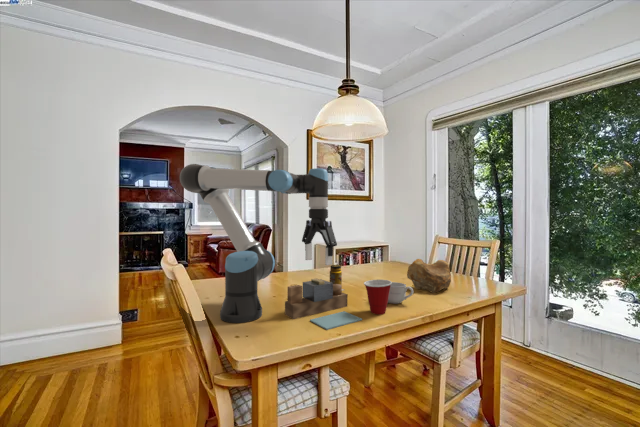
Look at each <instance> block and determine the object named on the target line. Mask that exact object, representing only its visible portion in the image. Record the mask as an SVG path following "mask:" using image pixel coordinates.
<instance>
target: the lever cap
mask: <svg viewBox="0 0 640 427" xmlns="http://www.w3.org/2000/svg"><path fill="white" fill-rule="evenodd" d="M302 298H306V299H308V300H310V301H313V302H317V301H322V300H327V299H332V298H333V283H331V282H330V281H327V280H324V279H322V278H321V279H318V278H316V277H315V278H311V279H310V280H307V281H302Z"/></svg>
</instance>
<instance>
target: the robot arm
mask: <svg viewBox="0 0 640 427" xmlns="http://www.w3.org/2000/svg"><path fill="white" fill-rule="evenodd" d="M179 183H180V185H181V187H183V189H185V191H187V192H190V193H194V194H199V196H200V197H201V199H202V200H203V202H204V203H205V204H206V203H207V204H209V205H210V207H211V209H212V211H213V212H214V214H215V215H216V217H217V219H218V221H219V222H220V223H219V224H221V227H223V229H224V232H225V233H226V235H227V236H228V238H229V240H230V241H231V243H232V245H233V247H234V249H235V250H236V251H235V252H231V253H229V254H228V255H227V256H226V257H225V263H224V269H225V270H224V272H225V273H224V275H225V276H224V277H225V279H224V281H225V282H224V284H225V285H224V286H225V290H224V291H225V293H224V294H225V295H224V299H223V302H222V306H221V309H220V314H219V316H220V318H219V319H220V320H222V321H224V322H226V323H233V324H235V323H236V324H237V323H239V324H240V323H248V322H252V321H255V320H257V319H260V318H261V317H262V316H263V308H262V304H261V301H260V299H259V295H258V282H260V281H261V280H264V279H266V278H268V276H270V275H271V274H272V273H273V271H274V269H275V264H276V261H275V257H274V255H273V254H272V253H271V251H269V250H267V249H265V248H264V246H263V244H262V243H261V242H260V241H258V240H256V239H255V238H254V236H253V234H252V233H251V230H250V229H249V227H248V226H247V224H246V222H245V221H244V219H243V217H242V216H241V214H240V212H239V211H238V209H237V207H236V205H235V204H234V203H233V200H232V199H231V197H230V196H229V195H230V194H229V191H230V190H244V191H260V192H261V191H263V192H264V191H265V192H278V193H279V192H280V193H281V194H285V195H286V194H287V195H291V194H296V195H297V194H308V208H309V209H308V218H309V219H306V223H305V227H304V230H303V235H302V237H301V238H302V239H301V242H302V243H304V250H305V260H304V261H311V260H312V259H313V244H312V241H313V239H314V237H315V236H316V234H317V233H319V234H320V235H321V237H322V239H323V241H324V243H325V248H324V249H325V251H324V252H325V253H324V254H325V260H324V261H325V262H324V263H325V266H329V265H330V266H331V265H333V256H334V247H337V246H338V243H337V240H336V239H337V238H336V236H335V232H334V229H333V226H332V225H333V224H332V220H327V219H328V217H329V209H328V206H329V203H328V202H329V174H328V170H327V169H325V168H310V169H309V171H308V173H307V174H295V173H291V172H289V171H287V170H285V169H275V170H269V169H268V170H267V169H241V168H239V169H238V168H237V169H236V168H216V167H212V166H209V165H203V164H202V165H201V164H199V163H198V164H197V163H191V164H187V165H186V166H184V167H183V168H182V169H181V171H180V173H179Z"/></svg>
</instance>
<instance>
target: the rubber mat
mask: <svg viewBox="0 0 640 427" xmlns="http://www.w3.org/2000/svg"><path fill="white" fill-rule="evenodd" d="M309 321H310V322H311V323H313V324H315V325H316V326H318V327H320V328H323V329H324V330H326V331H329V330H331V329H335V328H339V327H343V326H346V325H349V324H354V323H357V322H361V321H363V318H361V317H358V316H356V315H355V314H351V313H350V312H347V311H339V312H335V313H332V314H328V315H327V314H326V315H323V316H319V317H315V318H312V319H309Z"/></svg>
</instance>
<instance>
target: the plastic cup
mask: <svg viewBox="0 0 640 427" xmlns="http://www.w3.org/2000/svg"><path fill="white" fill-rule="evenodd" d="M392 282H393V281H391V280H388V279H370V280H366V281H364V282H363V285H364V287H365V290H366V293H367V300H368V306H369V310H370V313H371V314H374V315H384V314H386V312H387V307H388V304H389V303H388V297H389V291H390V286H391V284H392Z"/></svg>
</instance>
